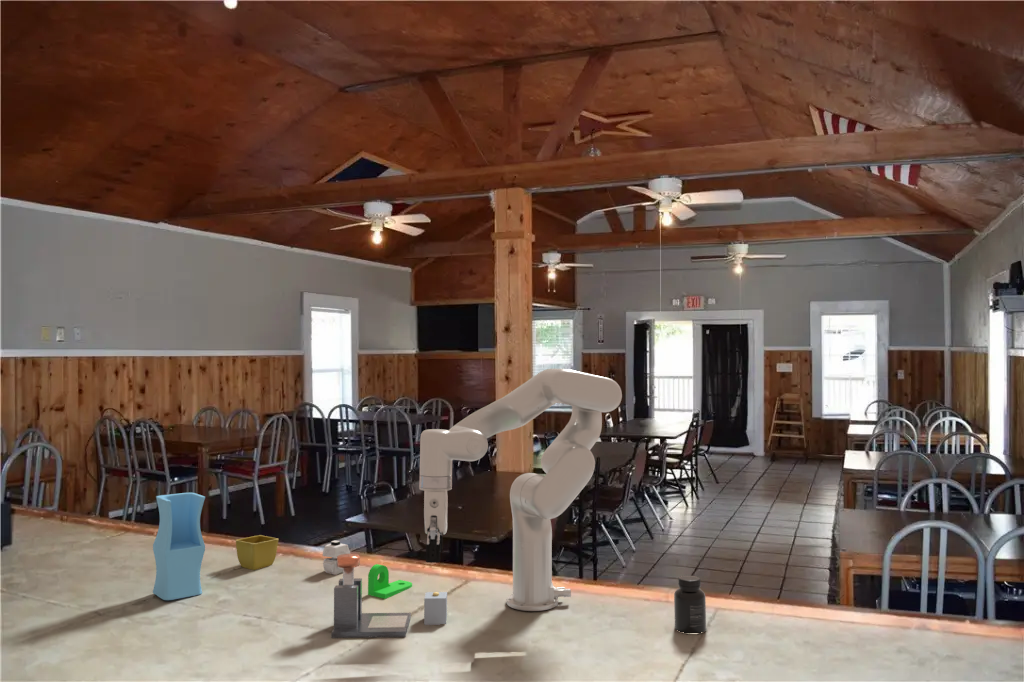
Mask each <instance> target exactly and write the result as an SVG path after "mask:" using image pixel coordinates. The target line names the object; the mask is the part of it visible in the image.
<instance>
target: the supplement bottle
mask: <svg viewBox="0 0 1024 682" xmlns="http://www.w3.org/2000/svg"><path fill="white" fill-rule="evenodd" d="M677 580H678V585H677V587H679V588H677V589H676V590H675V592H674V594H673V600H674V601H673V602H674V603H673V604H674V606H673V607H674V629H675V631H677V630H678V631H680V632H684V633H701V632H704V631H705V630H706V631H707V613H706V612H707V611H706V610H707V607H706V604H707V601H706V594H705V592H704V591H703V590H702V589H701V587H702V584H701V578H700V577H698V576H695V575H681V576H679V577H678V579H677ZM678 631H677V632H678ZM706 631H705V632H706ZM680 632H679V633H680ZM705 632H704V633H705Z"/></svg>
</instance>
